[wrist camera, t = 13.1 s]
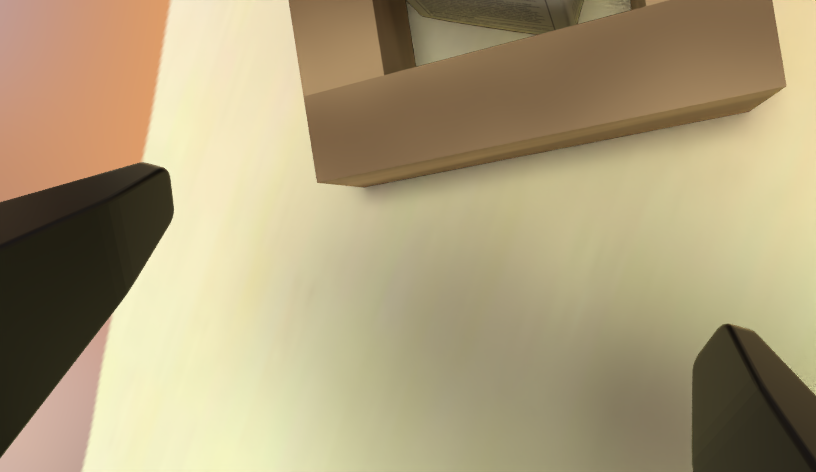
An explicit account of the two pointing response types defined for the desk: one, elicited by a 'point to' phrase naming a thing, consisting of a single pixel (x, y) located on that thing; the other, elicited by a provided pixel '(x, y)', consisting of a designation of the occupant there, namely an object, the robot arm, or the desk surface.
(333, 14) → the frame
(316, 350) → the desk surface
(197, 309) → the desk surface
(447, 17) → the skincare box
